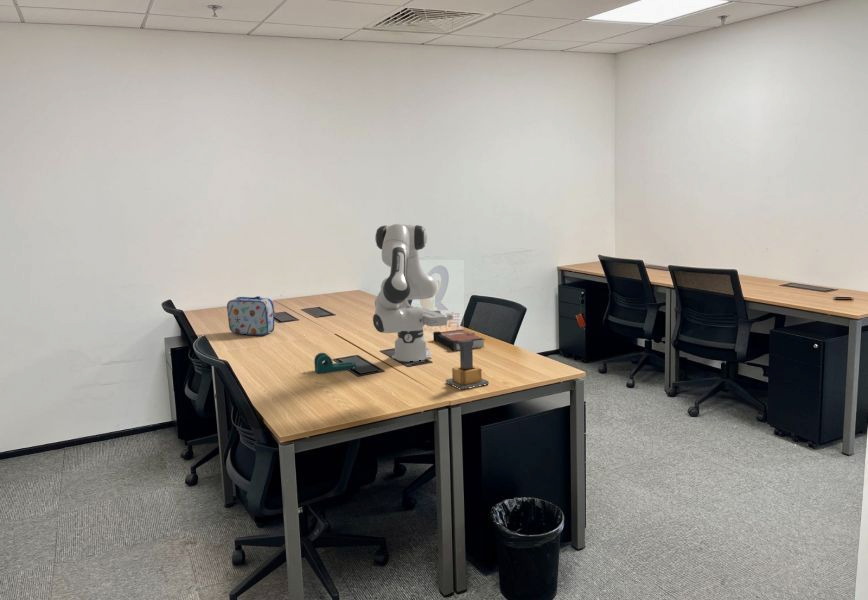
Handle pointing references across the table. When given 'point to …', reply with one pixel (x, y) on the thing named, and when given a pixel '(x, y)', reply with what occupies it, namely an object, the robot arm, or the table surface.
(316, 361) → the bracket
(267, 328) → the lunch box
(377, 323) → the robot arm
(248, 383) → the table surface
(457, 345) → the book
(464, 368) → the tall dark grey post
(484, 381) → the frame on grey plate
